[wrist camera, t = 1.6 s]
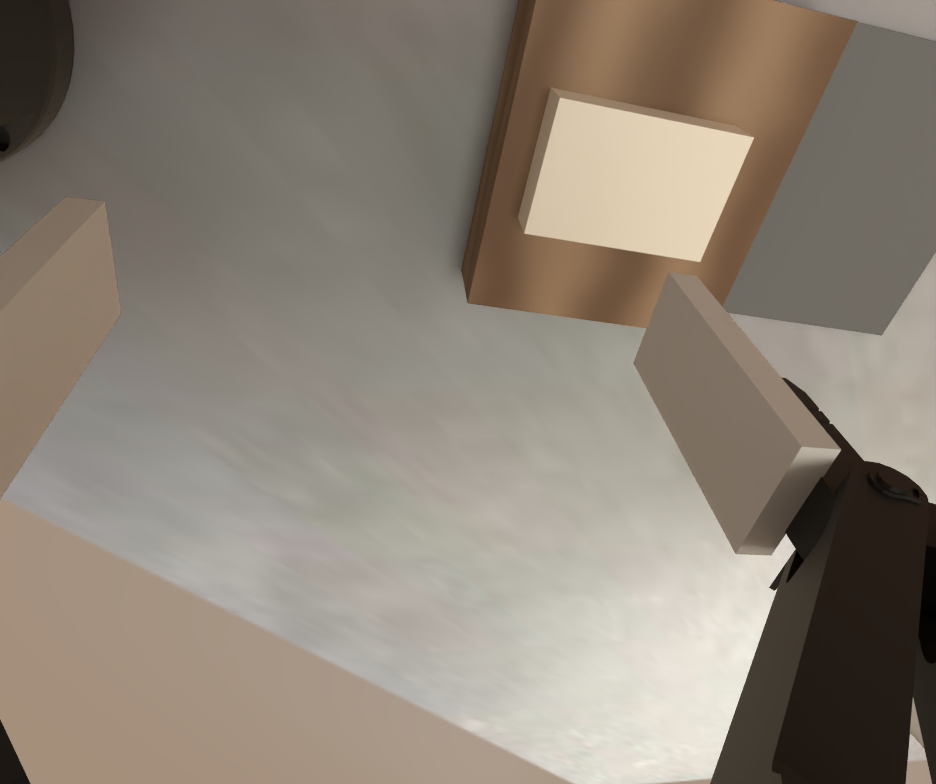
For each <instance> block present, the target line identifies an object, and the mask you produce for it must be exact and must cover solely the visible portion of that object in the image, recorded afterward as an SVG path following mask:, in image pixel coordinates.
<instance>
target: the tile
mask: <svg viewBox="0 0 936 784" xmlns="http://www.w3.org/2000/svg"><path fill="white" fill-rule="evenodd" d="M753 139H754V137H753V136H751V135H749V134H748V133H746V132H745V131H743V130H741V129H740V128H738V127H736V126H734V125H729V124H724V123H720V122H715V121H710V120H705V119H700V118H696V117H691V116H686V115H681V114H676V113H671V112H667V111H662V110H657V109H652V108H647V107H642V106H638V105H633V104H628V103H623V102H618V101H613V100H609V99H604V98H599V97H594V96H589V95H585V94H580V93H575V92H570V91H565V90H560V89H556V88H550V92H549V96H548V100H547V104H546V108H545V112H544V116H543V120H542V124H541V128H540V132H539V136H538V140H537V144H536V148H535V152H534V156H533V160H532V163H531V167H530V171H529V175H528V179H527V183H526V187H525V191H524V195H523V199H522V203H521V207H520V211H519V215H518V219H519V222H520V224H521V227H522V229H523V232H524V234H530V235H536V236H542V237H548V238H555V239H561V240H567V241H573V242H579V243H585V244H592V245H598V246H604V247H610V248H616V249H622V250H628V251H635V252H641V253H647V254H653V255H659V256H665V257H672V258H678V259H684V260H690V261H696V262H700V261H701V259H702V257H703V254H704V252H705V250H706V247H707V245H708V243H709V240H710V238H711V236H712V233H713V231H714V229H715V227H716V224H717V222H718V220H719V217H720V215H721V213H722V210H723V208H724V206H725V203H726V201H727V199H728V197H729V194H730V192H731V190H732V187H733V185H734V183H735V180H736V178H737V176H738V174H739V171H740V169H741V167H742V164H743V162H744V160H745V157H746V155H747V153H748V150H749V148H750V146H751V144H752V141H753Z"/></svg>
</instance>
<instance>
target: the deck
mask: <svg viewBox="0 0 936 784" xmlns="http://www.w3.org/2000/svg"><path fill="white" fill-rule="evenodd" d="M856 24H857V21H853V20H849V19H845V18H841V17H837V16H833V15H829V14H825V13H821V12H817V11H813V10H809V9H805V8H801V7H797V6H793V5H789V4H785V3H781V2H777V1H773V0H519V3H518V8H517V12H516V17H515V22H514V26H513V31H512V36H511V41H510V45H509V50H508V55H507V59H506V64H505V69H504V73H503V78H502V83H501V88H500V92H499V97H498V102H497V106H496V111H495V116H494V120H493V125H492V130H491V134H490V139H489V144H488V149H487V153H486V158H485V163H484V167H483V172H482V177H481V181H480V186H479V191H478V196H477V200H476V205H475V210H474V214H473V219H472V224H471V228H470V233H469V238H468V243H467V247H466V252H465V257H464V261H463V266H462V275H463V281H464V286H465V291H466V297H467V302H468V303H470V304H477V305H484V306H491V307H499V308H506V309H513V310H520V311H527V312H534V313H542V314H549V315H556V316H563V317H570V318H577V319H585V320H592V321H599V322H606V323H613V324H621V325H628V326H635V327H642V328H647V326H648V324H649V321H650V319H651V316H652V313H653V311H654V308H655V306H656V303H657V300H658V298H659V295H660V292H661V290H662V287H663V285H664V282H665V279H666V277H667V274H668V272H672V273H680V274H688V275H696V276H697V277H698V278H699V279H700V280H701V282H702V283H703V284H704V285H705V286H706V288H707V289H708V290H709V291H710V292H711V294H712V295H713V296H714V297H715V298H716V300H717V301H718V302H719V303H720V304H721V306H723V304H724V302H725V300H726V298H727V296H728V294H729V292H730V289H731V287H732V285H733V283H734V281H735V279H736V277H737V275H738V273H739V271H740V268H741V266H742V264H743V262H744V260H745V258H746V256H747V254H748V252H749V249H750V247H751V245H752V243H753V241H754V239H755V237H756V235H757V233H758V230H759V228H760V226H761V224H762V222H763V220H764V218H765V216H766V214H767V211H768V209H769V207H770V205H771V203H772V201H773V199H774V197H775V195H776V192H777V190H778V188H779V186H780V184H781V182H782V180H783V178H784V176H785V173H786V171H787V169H788V167H789V165H790V163H791V161H792V159H793V157H794V154H795V152H796V150H797V148H798V146H799V144H800V142H801V140H802V138H803V136H804V133H805V131H806V129H807V127H808V125H809V123H810V121H811V119H812V117H813V114H814V112H815V110H816V108H817V106H818V104H819V102H820V100H821V98H822V95H823V93H824V91H825V89H826V87H827V85H828V83H829V81H830V79H831V76H832V74H833V72H834V70H835V68H836V66H837V64H838V62H839V60H840V57H841V55H842V53H843V51H844V49H845V47H846V45H847V43H848V41H849V38H850V36H851V34H852V32H853V30H854V28H855V26H856ZM550 88H556V89H560V90H565V91H570V92H575V93H580V94H585V95H589V96H594V97H599V98H604V99H609V100H613V101H618V102H623V103H628V104H633V105H638V106H642V107H647V108H652V109H657V110H662V111H667V112H671V113H676V114H681V115H686V116H691V117H696V118H700V119H705V120H710V121H715V122H720V123H724V124H729V125H734V126H736V127H738V128H740V129H741V130H743V131H745V132H746V133H748V134H749V135H751V136H753V137H754V139H753V141H752V144H751V146H750V148H749V150H748V153H747V155H746V157H745V160H744V162H743V164H742V167H741V169H740V171H739V174H738V176H737V178H736V180H735V183H734V185H733V187H732V190H731V192H730V194H729V197H728V199H727V201H726V203H725V206H724V208H723V210H722V213H721V215H720V217H719V220H718V222H717V224H716V227H715V229H714V231H713V233H712V236H711V238H710V240H709V243H708V245H707V247H706V250H705V252H704V254H703V257H702V259H701V261H700V262H696V261H690V260H684V259H678V258H672V257H665V256H659V255H653V254H647V253H641V252H635V251H628V250H622V249H616V248H610V247H604V246H598V245H592V244H585V243H579V242H573V241H567V240H561V239H555V238H548V237H542V236H536V235H530V234H524V232H523V229H522V227H521V224H520V222H519V219H518V215H519V211H520V207H521V203H522V199H523V195H524V191H525V187H526V183H527V179H528V175H529V171H530V167H531V163H532V160H533V156H534V152H535V148H536V144H537V140H538V136H539V132H540V128H541V124H542V120H543V116H544V112H545V108H546V104H547V100H548V96H549V92H550Z"/></svg>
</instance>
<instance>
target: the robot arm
mask: <svg viewBox="0 0 936 784" xmlns="http://www.w3.org/2000/svg"><path fill="white" fill-rule="evenodd" d="M72 65H73V30H72V21H71V15H70V9H69V5H68V0H0V162H2V161H4V160H5V159H7V158H9V157H10V156H12V155H14V154H15V153H17V152H18V151H20V150H22V149H23V148H25V147H26V146H28V145H29V144H30V143H32V142H33V141H34V140H35V139H37V138H38V137H39V136H40V135H41V134H42V133H43V132H44V131H45V130H46V128H47V127H48V126H49V125H50V123H51V122H52V121H53V119H54V118H55V116H56V114H57V113H58V111H59V109H60V107H61V105H62V103H63V101H64V98H65V95H66V92H67V89H68V86H69V82H70V78H71V71H72ZM120 315H121V308H120V301H119V294H118V288H117V281H116V274H115V267H114V261H113V254H112V247H111V240H110V234H109V227H108V220H107V213H106V206H105V202H104V201H96V200H88V199H80V198H72V197H65V198H64V199H63V200H62V201H61V202H59V203H58V204H57V205H56V206H55V207H54V208H53V209H52V210H51V211H50V212H48V213H47V214H46V215H45V216H44V217H43V218H42V219H41V220H40V221H39V222H37V223H36V224H35V225H34V226H33V227H32V228H31V229H30V230H29V231H27V232H26V233H25V234H24V235H23V236H22V237H21V238H20V239H19V240H18V241H16V242H15V243H14V244H13V245H12V246H11V247H10V248H9V249H8V250H7V251H5V252H4V253H3V254H2V255H1V256H0V499H1V497H2V496H3V494H4V493H5V491H6V490H7V488H8V487H9V485H10V483H11V482H12V480H13V479H14V477H15V476H16V474H17V473H18V471H19V470H20V468H21V467H22V465H23V464H24V462H25V460H26V459H27V457H28V456H29V454H30V453H31V451H32V450H33V448H34V447H35V445H36V444H37V442H38V440H39V439H40V437H41V436H42V434H43V433H44V431H45V430H46V428H47V427H48V425H49V424H50V422H51V421H52V419H53V417H54V416H55V414H56V413H57V411H58V410H59V408H60V407H61V405H62V404H63V402H64V401H65V399H66V397H67V396H68V394H69V393H70V391H71V390H72V388H73V387H74V385H75V384H76V382H77V381H78V379H79V378H80V376H81V374H82V373H83V371H84V370H85V368H86V367H87V365H88V364H89V362H90V361H91V359H92V358H93V356H94V355H95V353H96V351H97V350H98V348H99V347H100V345H101V344H102V342H103V341H104V339H105V338H106V336H107V335H108V333H109V331H110V330H111V328H112V327H113V325H114V324H115V322H116V321H117V319H118V318H119V316H120ZM634 365H635V367H636V369H637V371H638V372H639V374H640V376H641V378H642V380H643V382H644V384H645V386H646V387H647V389H648V391H649V393H650V395H651V397H652V399H653V400H654V402H655V404H656V406H657V408H658V410H659V412H660V414H661V415H662V417H663V419H664V421H665V423H666V425H667V427H668V428H669V430H670V432H671V434H672V436H673V438H674V440H675V441H676V443H677V445H678V447H679V449H680V451H681V453H682V455H683V456H684V458H685V460H686V462H687V464H688V466H689V468H690V469H691V471H692V473H693V475H694V477H695V479H696V481H697V483H698V484H699V486H700V488H701V490H702V492H703V494H704V496H705V497H706V499H707V501H708V503H709V505H710V507H711V509H712V511H713V512H714V514H715V516H716V518H717V520H718V522H719V524H720V525H721V527H722V529H723V531H724V533H725V535H726V537H727V539H728V540H729V542H730V544H731V546H732V548H733V550H734V552H735V553H736V554H749V555H772V553H773V552H774V550H775V549H776V547H777V546H778V544H779V543H780V541H781V540H782V538H783V537H784V535H785V534H787V536H788V537H789V539H790V540H791V542H792V544H793V545H794V547H795V548H796V550H795V551H794V552H793V554H792V555H791V557H790V558H789V560H788V561H787V563H786V564H785V565H784V567H783V568H782V570H781V571H780V573H779V574H778V576H777V577H776V579H775V580H774V581H773V583H772V584H771V586H770V587H769V588H771V589H773V590H774V591H775V590H776V589H777V588H778V589H777V592H776V595H775V598H774V601H773V603H772V606H771V609H770V612H769V615H768V618H767V621H766V624H765V627H764V630H763V632H762V635H761V638H760V641H759V644H758V647H757V650H756V653H755V656H754V658H753V661H752V664H751V667H750V670H749V673H748V676H747V679H746V682H745V685H744V687H743V690H742V693H741V696H740V699H739V702H738V705H737V708H736V711H735V714H734V716H733V719H732V722H731V725H730V728H729V731H728V734H727V737H726V740H725V743H724V745H723V748H722V751H721V754H720V757H719V760H718V763H717V766H716V769H715V772H714V774H713V777H712V780H711V783H710V784H905V783H906V771H907V760H908V748H909V736H910V725H911V713H912V702H913V699H914V703H915V708H916V712H917V717H918V721H919V726H920V730H921V735H922V739H923V744H924V748H925V753H926V757H927V762H928V766H929V771H930V775H931V780H932V784H936V504H933V503H929V502H928V498H927V495H926V494H925V493H924V492H923V490H922V489H921V488H920V486H919V485H917V484H916V483H915V482H914V481H912V480H911V479H910V478H909V477H907V476H906V475H904V474H902V473H900V472H899V471H897V470H895V469H893V468H891V467H888V466H885V465H883V464H880V463H875V462H868V461H864V460H863V459H862V458H861V457H860V456H859V455H858V453H857V452H856V451H855V450H854V449H853V448H852V446H851V445H850V444H849V443H848V442H847V441H846V439H845V438H844V437H843V436H842V435H841V434H840V432H839V431H838V430H837V429H836V428H835V427H834V425H833V424H829V422H830V421H829V420H828V418H827V417H826V416H825V415H824V414H823V412H822V411H819V408H818V407H817V405H816V404H815V403H814V402H813V401H812V400H811V398H810V397H809V396H808V395H807V394H806V393H805V392H804V391H803V390H801V389H800V388H798V387H797V386H796V385H794V384H793V383H791V382H790V381H789V380H787V379H786V378H781V377H780V375H779V374H778V373H777V372H776V371H775V369H774V368H773V367H772V366H771V365H770V363H769V362H768V361H767V360H766V359H765V357H764V356H763V355H762V354H761V353H760V351H759V350H758V349H757V348H756V347H755V345H754V344H753V343H752V342H751V341H750V339H749V338H748V337H747V336H746V334H745V333H744V332H743V331H742V330H741V328H740V327H739V326H738V325H737V324H736V322H735V321H734V320H733V319H732V318H731V316H730V315H729V314H728V313H727V312H726V310H725V309H724V308H723V307H722V306H721V304H720V303H719V302H718V301H717V300H716V298H715V297H714V296H713V295H712V294H711V292H710V291H709V290H708V289H707V288H706V286H705V285H704V284H703V283H702V282H701V280H700V279H699V278H698V277H697V276H696V275H688V274H680V273H672V272H668V274H667V277H666V279H665V282H664V285H663V287H662V290H661V292H660V295H659V298H658V300H657V303H656V306H655V308H654V311H653V313H652V316H651V319H650V321H649V324H648V326H647V329H646V332H645V334H644V337H643V339H642V342H641V345H640V347H639V350H638V352H637V355H636V358H635V360H634ZM0 784H30V782H29V780H28V778H27V776H26V773H25V771H24V769H23V767H22V765H21V763H20V761H19V759H18V756H17V754H16V752H15V750H14V748H13V746H12V744H11V741H10V739H9V737H8V735H7V733H6V731H5V729H4V726H3V724H2V722H1V720H0Z"/></svg>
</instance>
